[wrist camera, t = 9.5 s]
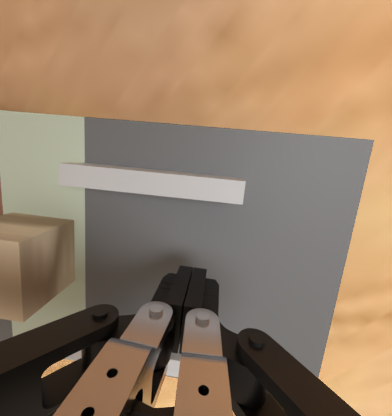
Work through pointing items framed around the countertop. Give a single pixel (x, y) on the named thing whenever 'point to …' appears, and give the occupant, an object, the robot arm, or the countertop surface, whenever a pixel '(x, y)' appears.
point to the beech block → (33, 262)
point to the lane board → (191, 217)
